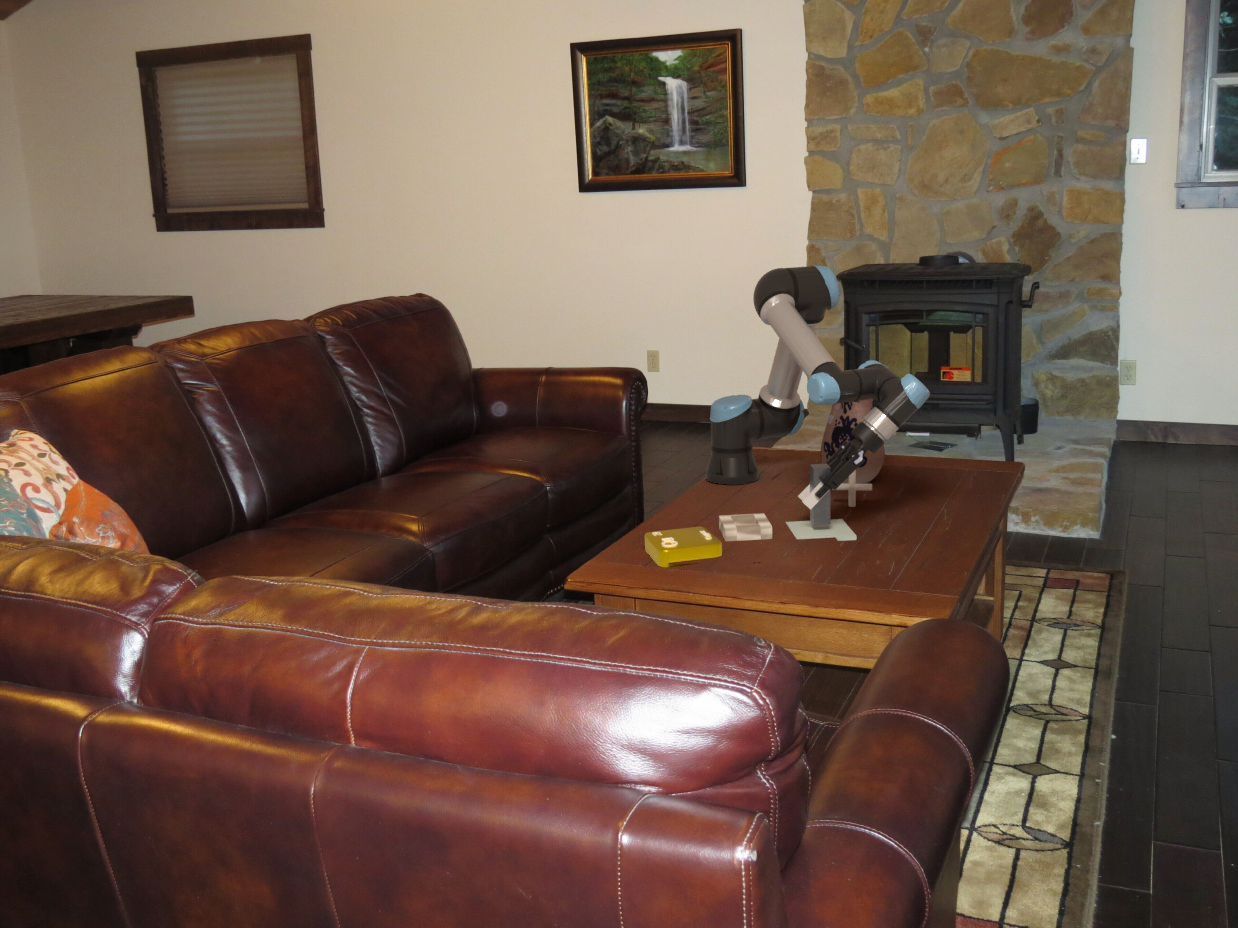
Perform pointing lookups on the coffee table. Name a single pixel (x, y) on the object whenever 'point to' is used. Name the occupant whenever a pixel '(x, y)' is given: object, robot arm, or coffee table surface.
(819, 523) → the peg
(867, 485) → the pipe connector
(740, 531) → the socket block
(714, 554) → the element tile
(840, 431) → the ceramic pitcher
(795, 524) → the plate
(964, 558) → the coffee table surface
